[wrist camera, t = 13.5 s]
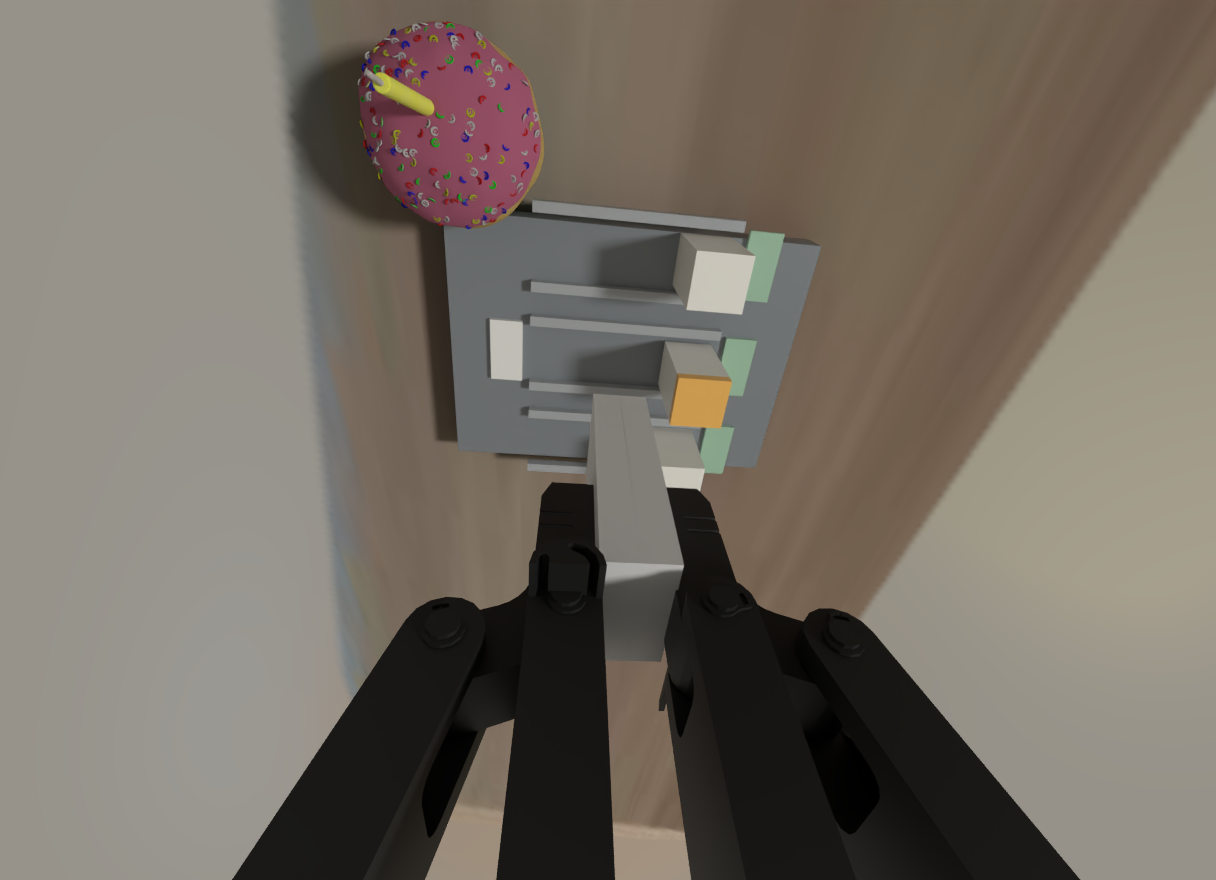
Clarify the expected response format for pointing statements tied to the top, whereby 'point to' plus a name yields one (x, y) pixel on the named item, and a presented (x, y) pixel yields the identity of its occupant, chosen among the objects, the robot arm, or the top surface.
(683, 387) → the breaker handle
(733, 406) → the panel
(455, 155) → the cupcake
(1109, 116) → the top surface
